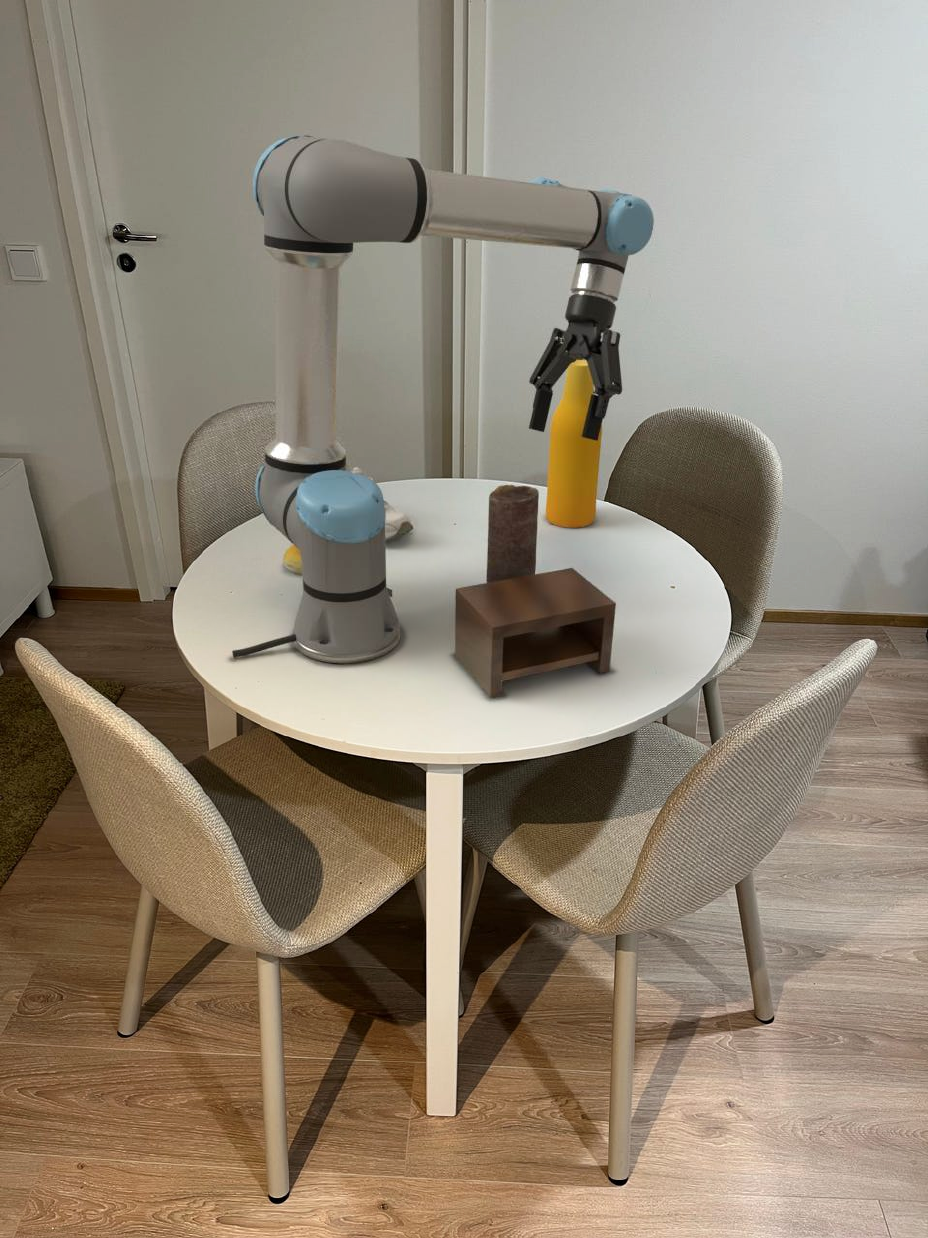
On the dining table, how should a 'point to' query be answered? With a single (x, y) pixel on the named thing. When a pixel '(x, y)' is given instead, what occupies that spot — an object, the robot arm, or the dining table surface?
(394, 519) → the athletic shoe
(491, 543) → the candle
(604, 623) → the shelf
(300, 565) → the bread roll
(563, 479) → the beer bottle
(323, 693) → the dining table surface
